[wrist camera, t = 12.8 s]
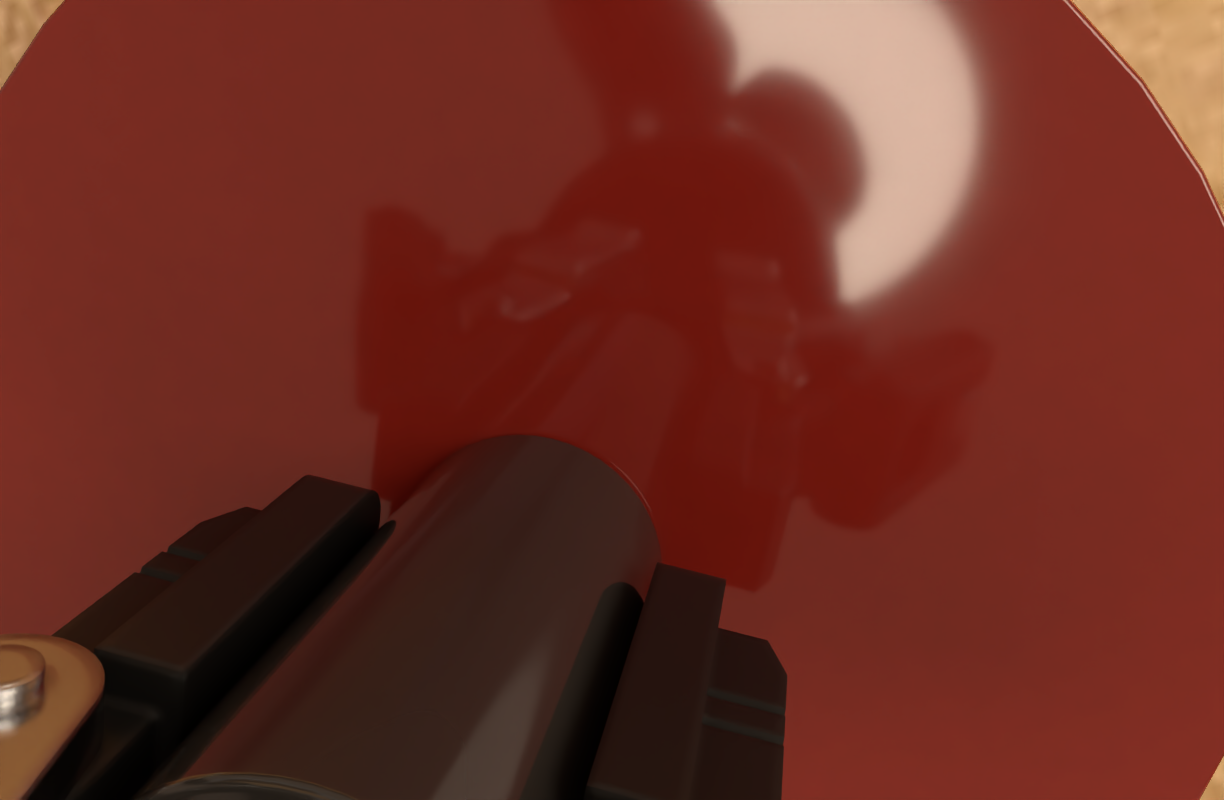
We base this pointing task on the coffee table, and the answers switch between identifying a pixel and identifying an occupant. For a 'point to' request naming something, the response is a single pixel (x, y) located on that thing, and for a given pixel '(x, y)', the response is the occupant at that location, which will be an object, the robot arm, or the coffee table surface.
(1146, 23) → the coffee table surface
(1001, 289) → the lid
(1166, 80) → the coffee table surface
